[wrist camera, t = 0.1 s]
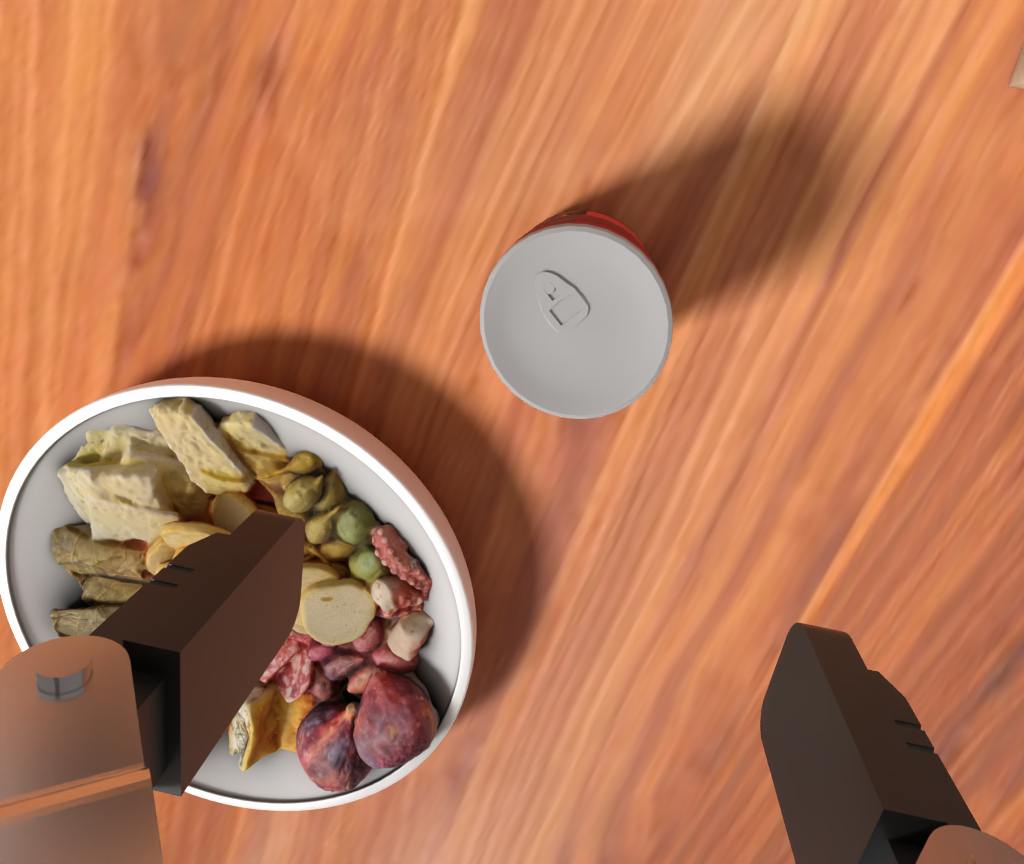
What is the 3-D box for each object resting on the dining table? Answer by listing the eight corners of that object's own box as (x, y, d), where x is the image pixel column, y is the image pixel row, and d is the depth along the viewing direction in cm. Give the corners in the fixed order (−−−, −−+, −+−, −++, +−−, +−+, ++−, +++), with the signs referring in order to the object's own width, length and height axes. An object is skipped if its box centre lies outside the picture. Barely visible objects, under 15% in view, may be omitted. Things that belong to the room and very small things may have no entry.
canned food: (566, 178, 37) (552, 181, 27) (687, 272, 38) (718, 310, 28) (482, 297, 40) (439, 342, 29) (596, 383, 40) (594, 456, 30)
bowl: (5, 626, 52) (-93, 701, 45) (132, 266, 42) (31, 286, 34) (365, 818, 55) (328, 919, 47) (573, 522, 44) (567, 593, 37)
